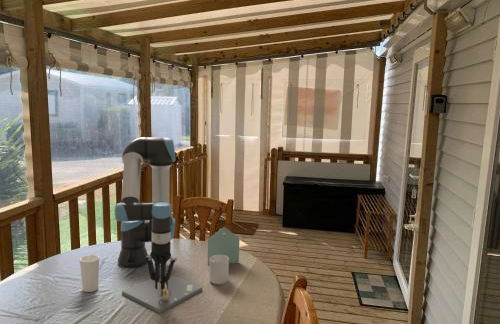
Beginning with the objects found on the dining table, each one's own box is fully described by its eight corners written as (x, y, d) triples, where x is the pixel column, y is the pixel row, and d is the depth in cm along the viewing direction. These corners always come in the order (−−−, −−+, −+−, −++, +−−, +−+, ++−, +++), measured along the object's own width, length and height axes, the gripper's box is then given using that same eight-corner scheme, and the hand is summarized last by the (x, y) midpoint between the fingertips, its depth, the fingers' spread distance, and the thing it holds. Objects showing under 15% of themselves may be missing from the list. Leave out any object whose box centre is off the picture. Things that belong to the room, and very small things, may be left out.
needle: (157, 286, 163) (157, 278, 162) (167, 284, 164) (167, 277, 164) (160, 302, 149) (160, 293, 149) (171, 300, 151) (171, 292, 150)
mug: (226, 286, 169) (227, 262, 168) (207, 284, 170) (208, 261, 168) (230, 274, 181) (231, 252, 180) (212, 273, 182) (213, 251, 180)
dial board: (122, 294, 159) (121, 290, 159) (165, 275, 178) (165, 271, 178) (159, 313, 145) (159, 309, 145) (202, 290, 164) (202, 286, 164)
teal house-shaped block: (236, 257, 203) (237, 222, 200) (238, 263, 195) (240, 226, 192) (206, 258, 200) (207, 222, 197) (207, 264, 192) (208, 227, 190)
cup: (104, 287, 164) (103, 256, 162) (91, 295, 157) (90, 263, 155) (89, 283, 167) (88, 253, 165) (76, 291, 160) (74, 260, 158)
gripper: (141, 242, 146) (141, 298, 150) (173, 246, 145) (171, 302, 148) (149, 236, 154) (148, 289, 157) (179, 239, 152) (177, 293, 156)
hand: (159, 296), depth 153 cm, fingers closed
